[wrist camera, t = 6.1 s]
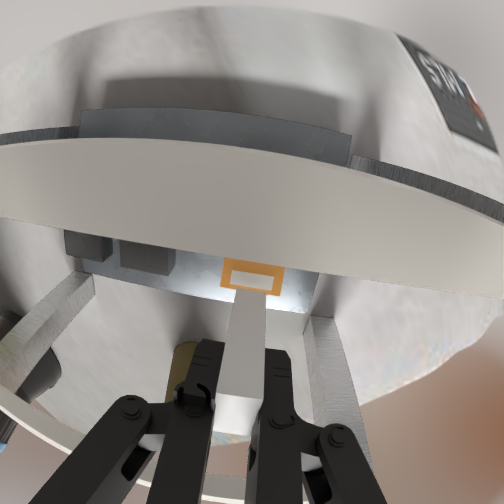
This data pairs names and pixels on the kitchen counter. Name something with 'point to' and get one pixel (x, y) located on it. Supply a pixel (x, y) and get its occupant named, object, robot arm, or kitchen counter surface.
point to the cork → (179, 367)
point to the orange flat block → (252, 276)
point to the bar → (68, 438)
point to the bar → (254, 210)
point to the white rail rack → (203, 265)
